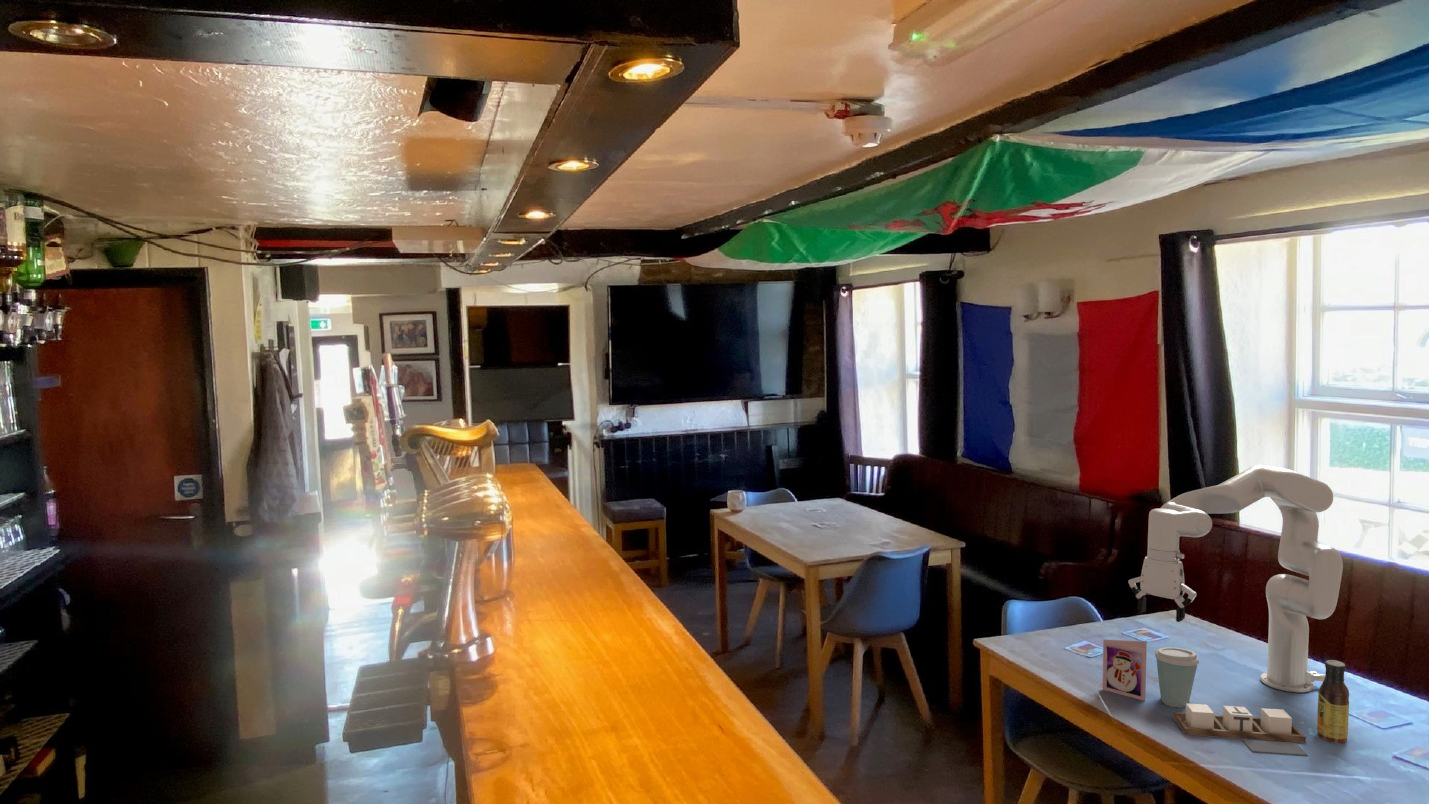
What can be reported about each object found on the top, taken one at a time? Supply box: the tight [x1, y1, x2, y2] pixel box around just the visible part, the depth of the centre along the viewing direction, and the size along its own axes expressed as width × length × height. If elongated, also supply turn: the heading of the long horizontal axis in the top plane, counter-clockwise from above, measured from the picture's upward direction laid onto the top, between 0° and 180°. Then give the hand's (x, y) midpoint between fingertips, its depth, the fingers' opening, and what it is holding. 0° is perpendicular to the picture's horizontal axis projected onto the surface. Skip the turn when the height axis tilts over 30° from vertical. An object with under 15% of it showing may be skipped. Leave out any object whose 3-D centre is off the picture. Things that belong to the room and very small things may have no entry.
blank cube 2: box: [1260, 707, 1293, 734], centre depth 217 cm, size 5×5×5 cm
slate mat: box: [1241, 738, 1309, 757], centre depth 209 cm, size 12×6×1 cm, turn 78°
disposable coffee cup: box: [1154, 646, 1200, 708], centre depth 235 cm, size 11×11×15 cm
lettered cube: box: [1222, 705, 1254, 732], centre depth 219 cm, size 5×5×5 cm
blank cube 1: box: [1185, 703, 1215, 729], centre depth 220 cm, size 5×5×5 cm
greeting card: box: [1102, 639, 1148, 702], centre depth 242 cm, size 11×7×15 cm, turn 45°
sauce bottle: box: [1316, 659, 1350, 744], centre depth 213 cm, size 6×6×20 cm
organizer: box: [1172, 711, 1307, 744], centre depth 219 cm, size 27×10×2 cm, turn 78°
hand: (1160, 616), depth 235 cm, fingers open, 9 cm apart
